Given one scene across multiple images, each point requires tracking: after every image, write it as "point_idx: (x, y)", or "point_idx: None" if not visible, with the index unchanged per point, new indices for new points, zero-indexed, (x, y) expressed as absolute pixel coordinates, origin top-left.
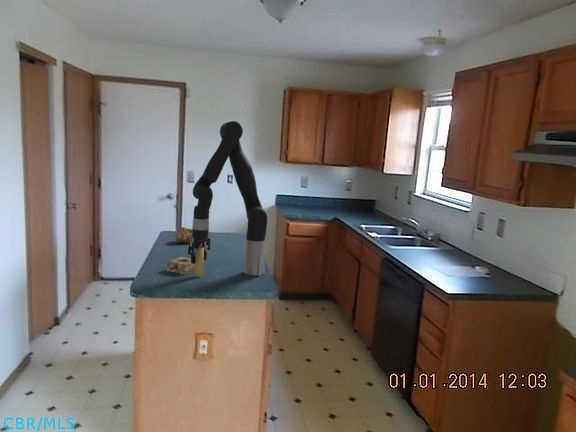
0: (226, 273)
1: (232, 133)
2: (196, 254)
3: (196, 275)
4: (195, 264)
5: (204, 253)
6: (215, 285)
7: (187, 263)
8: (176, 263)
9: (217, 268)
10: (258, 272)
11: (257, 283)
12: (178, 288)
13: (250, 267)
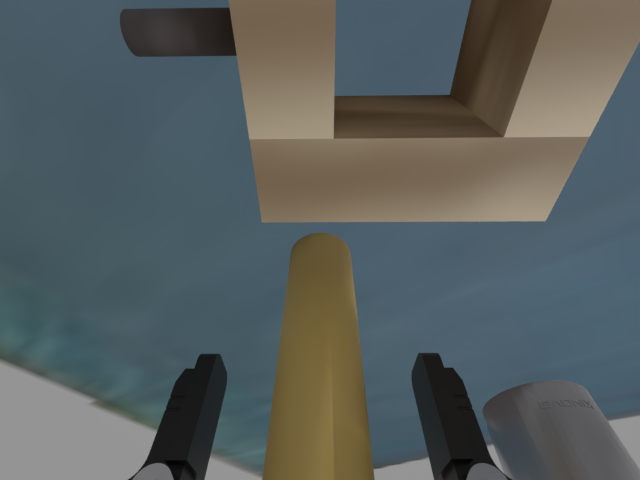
0: (479, 335)
1: None
2: (266, 468)
3: (289, 264)
4: (292, 322)
5: (436, 457)
6: (247, 373)
7: (323, 200)
8: (237, 33)
9: (597, 253)
10: (493, 443)
11: (386, 438)
12: (32, 289)
13: (502, 455)
